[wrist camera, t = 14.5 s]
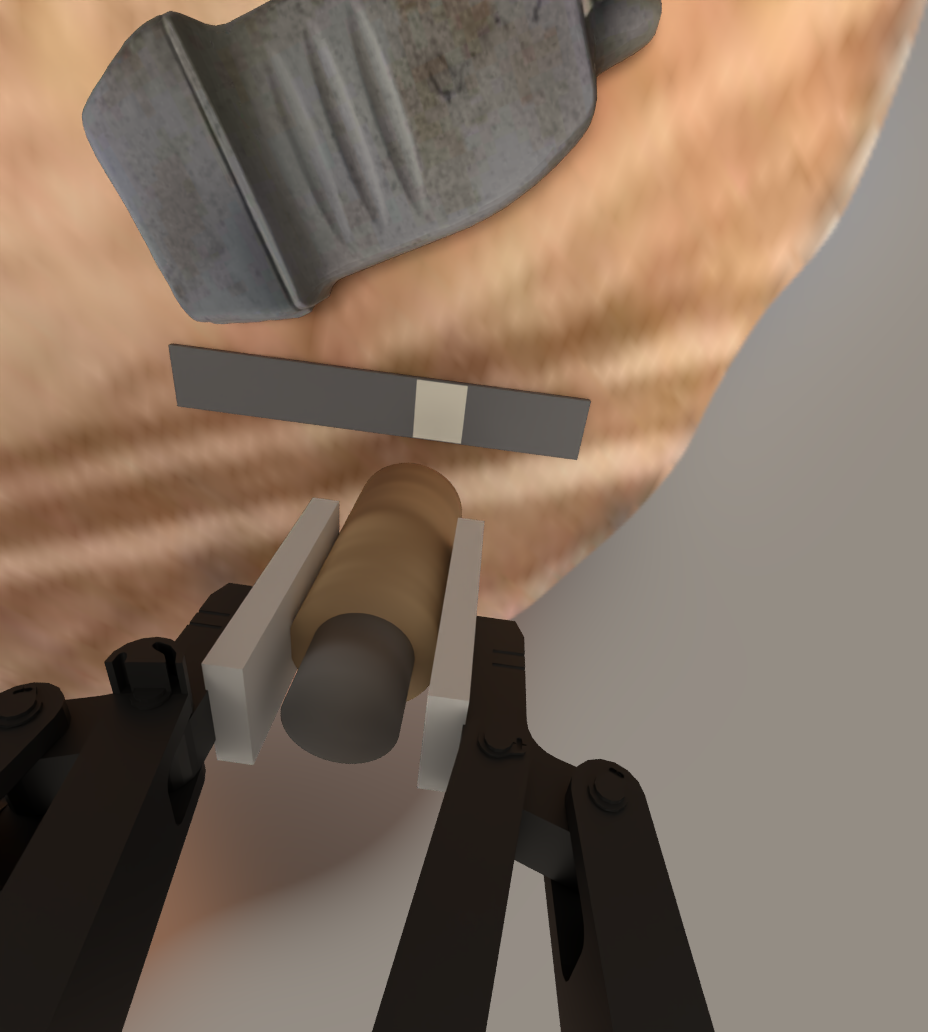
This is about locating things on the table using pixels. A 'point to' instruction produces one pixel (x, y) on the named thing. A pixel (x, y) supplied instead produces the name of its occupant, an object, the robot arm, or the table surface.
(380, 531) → the tan bottle
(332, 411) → the strip
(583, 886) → the robot arm
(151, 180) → the handheld device
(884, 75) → the table surface
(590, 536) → the table surface
